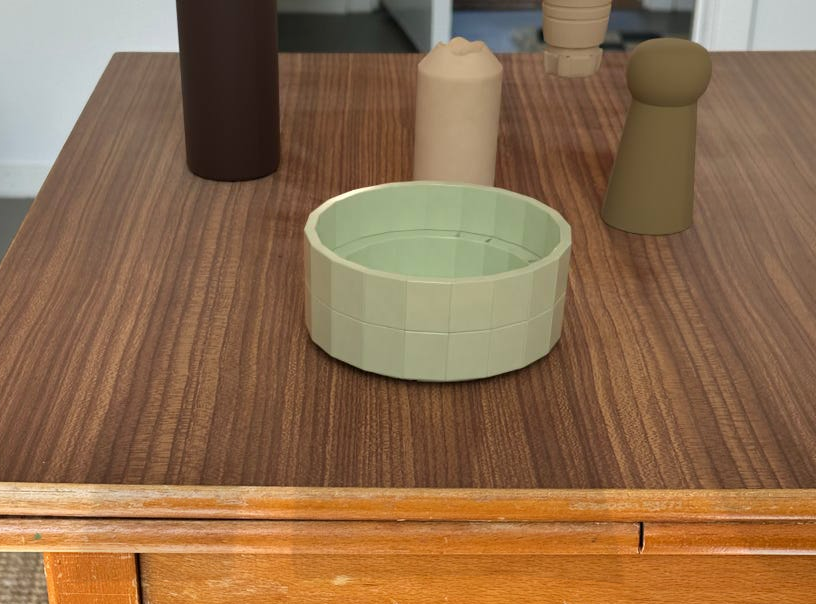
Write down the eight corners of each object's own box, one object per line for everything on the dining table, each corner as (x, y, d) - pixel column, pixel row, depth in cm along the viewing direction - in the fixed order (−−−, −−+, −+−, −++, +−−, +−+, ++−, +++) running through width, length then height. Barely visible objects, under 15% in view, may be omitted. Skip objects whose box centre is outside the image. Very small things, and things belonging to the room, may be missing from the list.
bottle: (177, 156, 97) (154, -160, 85) (266, 146, 99) (256, -164, 86) (199, 187, 92) (178, -143, 79) (292, 177, 94) (286, -149, 81)
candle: (415, 212, 88) (422, 54, 82) (409, 183, 93) (415, 31, 87) (497, 211, 89) (510, 54, 82) (487, 182, 93) (499, 30, 87)
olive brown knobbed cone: (583, 207, 89) (605, 34, 82) (660, 196, 91) (688, 25, 84) (630, 240, 85) (657, 59, 78) (710, 227, 87) (743, 49, 80)
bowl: (558, 286, 79) (569, 186, 76) (560, 399, 68) (573, 289, 65) (323, 273, 81) (323, 175, 77) (288, 382, 70) (286, 273, 66)
